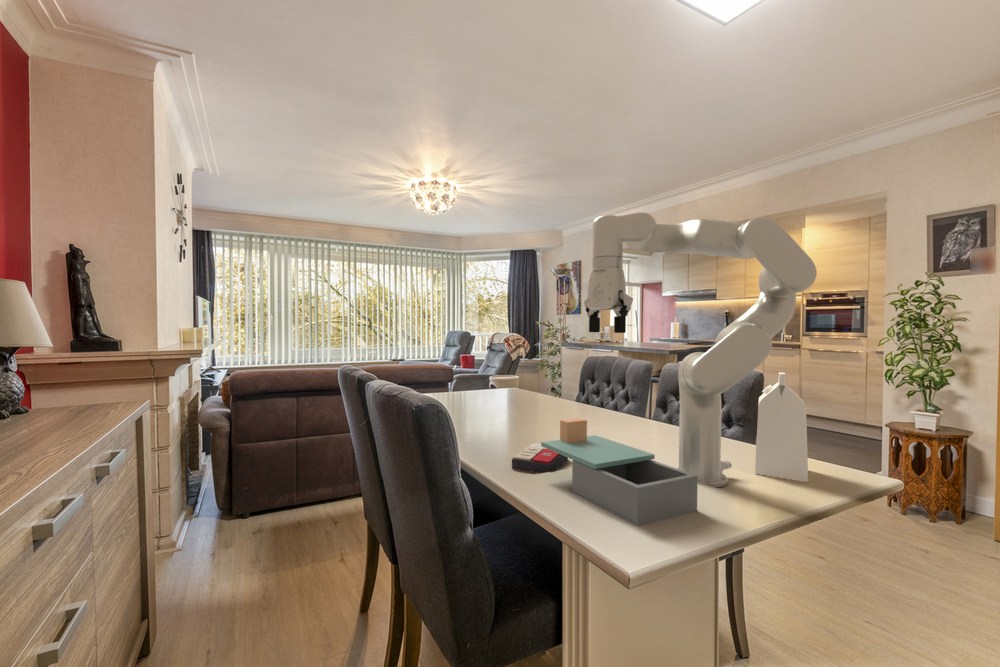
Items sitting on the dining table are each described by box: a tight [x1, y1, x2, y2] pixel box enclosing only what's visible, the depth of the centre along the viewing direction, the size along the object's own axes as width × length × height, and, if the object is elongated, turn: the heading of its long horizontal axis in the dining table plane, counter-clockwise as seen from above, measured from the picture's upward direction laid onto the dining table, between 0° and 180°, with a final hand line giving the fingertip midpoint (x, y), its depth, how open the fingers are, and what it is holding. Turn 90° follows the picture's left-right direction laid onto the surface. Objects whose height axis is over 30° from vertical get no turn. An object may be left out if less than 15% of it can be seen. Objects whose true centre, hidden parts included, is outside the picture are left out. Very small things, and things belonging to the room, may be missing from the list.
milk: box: [754, 371, 809, 483], centre depth 122 cm, size 12×12×26 cm
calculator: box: [511, 442, 569, 474], centre depth 128 cm, size 11×4×15 cm
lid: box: [540, 417, 656, 469], centre depth 109 cm, size 17×20×6 cm
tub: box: [571, 459, 698, 527], centre depth 98 cm, size 16×20×8 cm
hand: (606, 332), depth 119 cm, fingers open, 9 cm apart
